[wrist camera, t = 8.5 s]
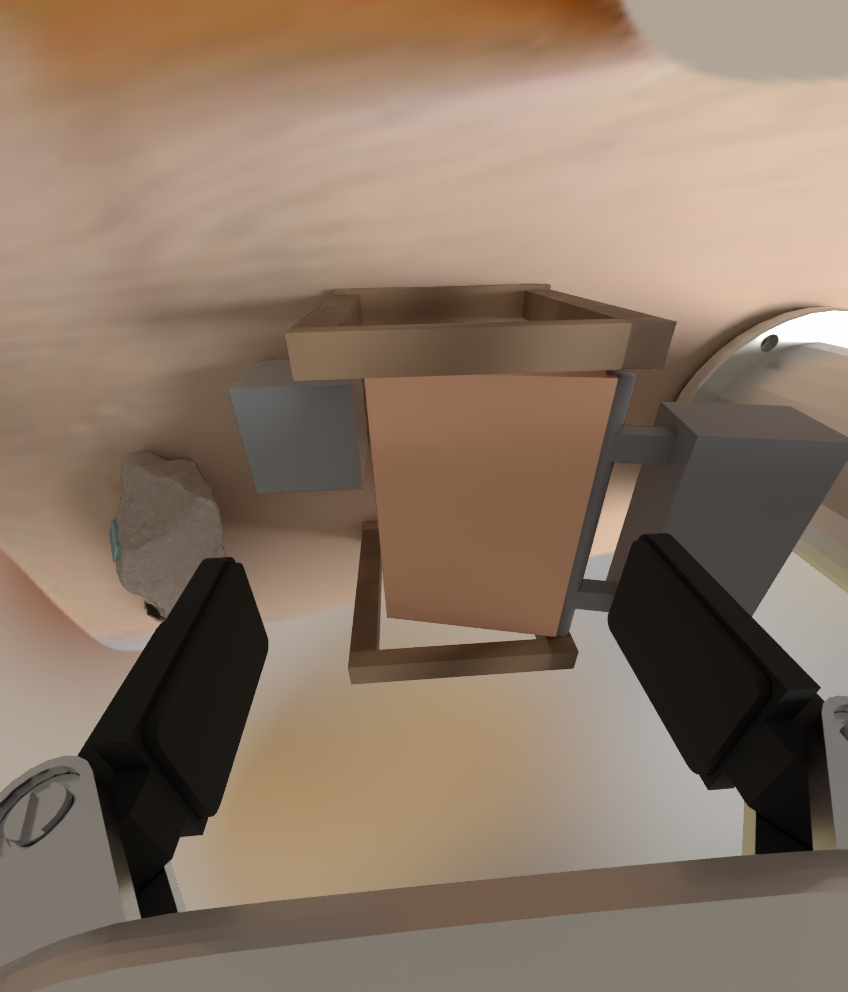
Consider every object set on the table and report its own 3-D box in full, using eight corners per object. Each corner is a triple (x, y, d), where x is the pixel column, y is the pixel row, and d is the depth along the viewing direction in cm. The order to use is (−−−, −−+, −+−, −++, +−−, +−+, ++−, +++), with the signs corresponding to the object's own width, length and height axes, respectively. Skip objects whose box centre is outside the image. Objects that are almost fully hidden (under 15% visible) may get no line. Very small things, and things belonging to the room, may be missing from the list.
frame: (546, 284, 19) (679, 313, 10) (514, 533, 27) (572, 670, 18) (335, 289, 19) (282, 324, 10) (365, 541, 27) (351, 686, 18)
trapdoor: (809, 366, 13) (887, 395, 10) (686, 617, 19) (715, 674, 16) (379, 357, 14) (354, 380, 12) (396, 587, 21) (382, 634, 18)
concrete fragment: (148, 606, 29) (95, 684, 24) (129, 432, 22) (47, 489, 17) (249, 619, 30) (219, 695, 25) (261, 460, 23) (223, 520, 18)
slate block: (351, 384, 16) (227, 388, 16) (363, 488, 19) (256, 493, 19) (359, 356, 21) (261, 360, 20) (368, 445, 23) (281, 448, 23)
